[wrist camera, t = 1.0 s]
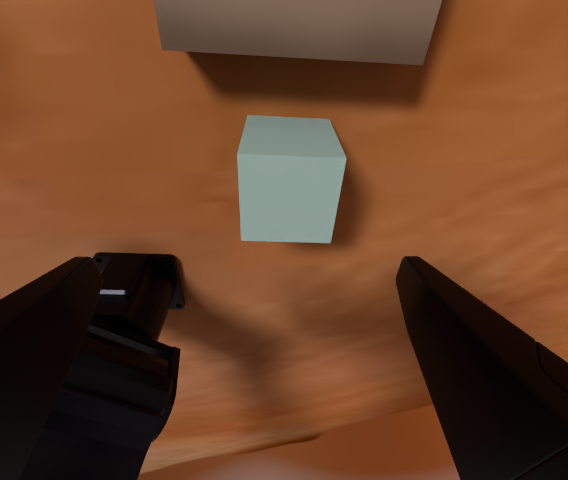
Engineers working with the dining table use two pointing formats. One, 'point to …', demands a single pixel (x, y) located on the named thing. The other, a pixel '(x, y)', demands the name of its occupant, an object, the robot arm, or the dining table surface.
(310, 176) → the sage block
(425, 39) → the grayish brown panel
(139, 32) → the dining table surface
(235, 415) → the dining table surface
